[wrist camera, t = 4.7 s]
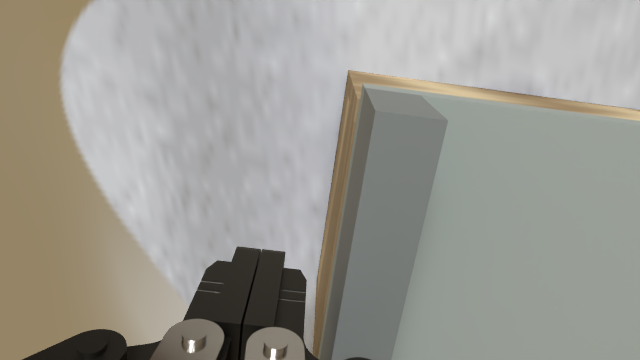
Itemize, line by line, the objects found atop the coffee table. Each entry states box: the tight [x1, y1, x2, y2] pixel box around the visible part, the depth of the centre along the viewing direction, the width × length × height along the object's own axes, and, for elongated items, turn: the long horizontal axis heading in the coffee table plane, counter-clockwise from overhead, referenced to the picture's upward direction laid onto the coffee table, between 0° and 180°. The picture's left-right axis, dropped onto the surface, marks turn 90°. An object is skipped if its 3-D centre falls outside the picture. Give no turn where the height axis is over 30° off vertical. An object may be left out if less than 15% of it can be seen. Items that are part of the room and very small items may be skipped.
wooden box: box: [313, 70, 640, 359], centre depth 18 cm, size 14×11×7 cm
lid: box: [318, 83, 640, 360], centre depth 13 cm, size 14×12×4 cm
